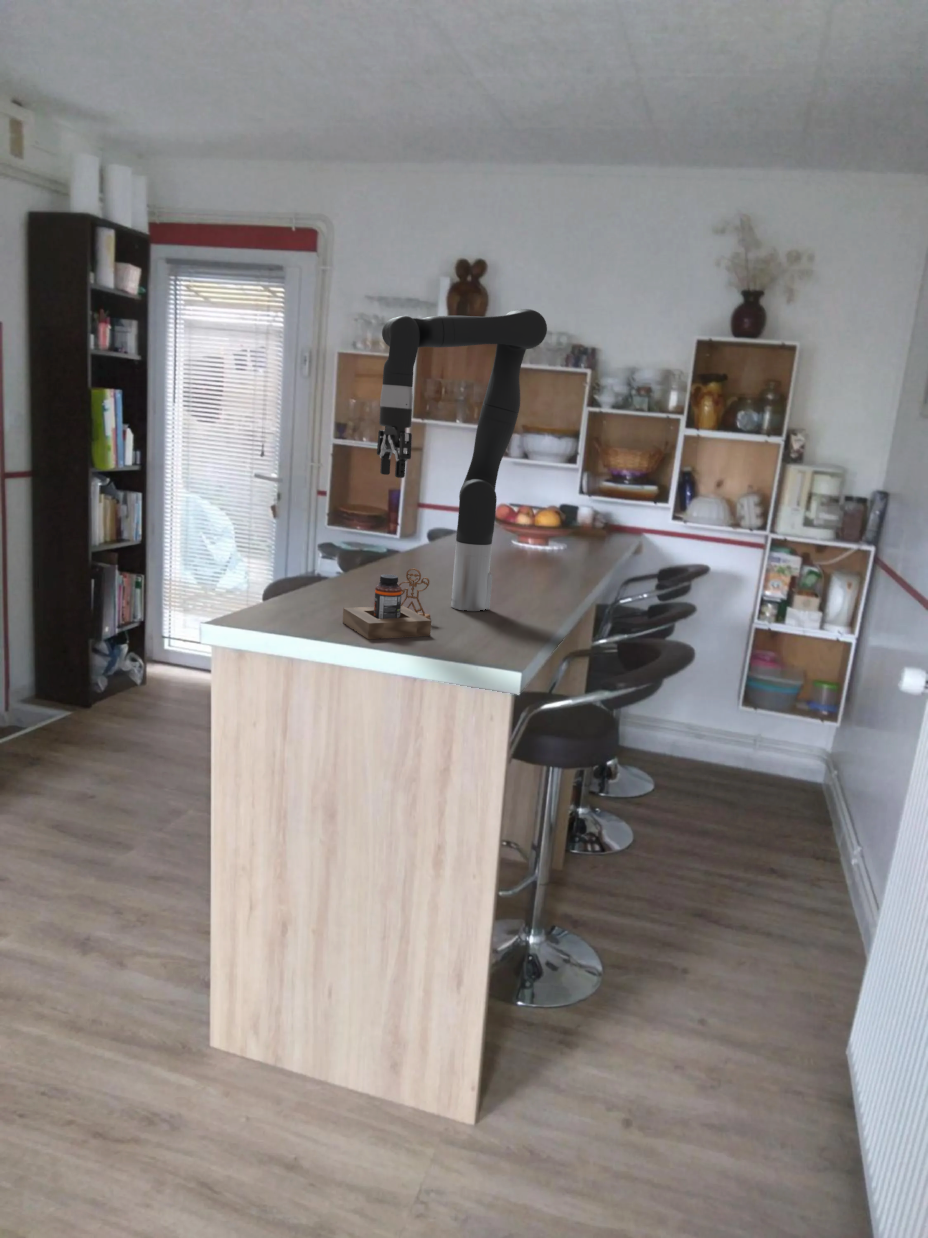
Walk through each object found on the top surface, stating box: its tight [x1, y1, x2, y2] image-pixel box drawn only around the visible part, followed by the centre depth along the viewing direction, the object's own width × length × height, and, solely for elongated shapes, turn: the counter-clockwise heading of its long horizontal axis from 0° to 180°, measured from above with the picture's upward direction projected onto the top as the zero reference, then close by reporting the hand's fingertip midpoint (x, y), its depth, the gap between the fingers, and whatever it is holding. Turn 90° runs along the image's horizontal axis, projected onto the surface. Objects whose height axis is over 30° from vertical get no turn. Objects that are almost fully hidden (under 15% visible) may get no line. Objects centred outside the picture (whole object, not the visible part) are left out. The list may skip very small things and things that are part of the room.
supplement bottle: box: [373, 573, 403, 619], centre depth 193 cm, size 6×6×11 cm
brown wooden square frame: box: [342, 605, 432, 640], centre depth 194 cm, size 15×15×4 cm
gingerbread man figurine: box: [398, 567, 431, 620], centre depth 207 cm, size 9×4×12 cm, turn 73°
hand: (392, 475), depth 205 cm, fingers open, 8 cm apart
